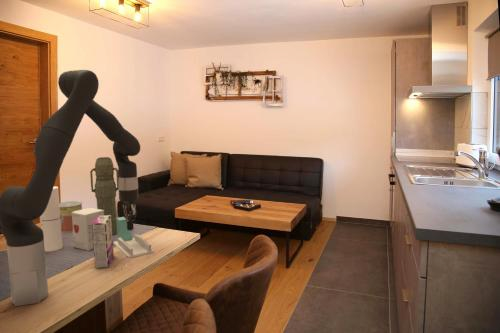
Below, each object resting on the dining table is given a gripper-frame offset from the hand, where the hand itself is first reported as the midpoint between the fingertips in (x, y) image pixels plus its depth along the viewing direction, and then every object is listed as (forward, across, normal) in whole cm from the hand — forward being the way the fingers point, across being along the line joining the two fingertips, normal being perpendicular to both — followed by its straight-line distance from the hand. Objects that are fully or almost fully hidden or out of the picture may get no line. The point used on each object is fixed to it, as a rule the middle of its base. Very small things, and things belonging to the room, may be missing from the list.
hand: (130, 229), depth 149 cm
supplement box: (+8, +12, +13) cm, 19 cm away
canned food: (+8, +43, +15) cm, 46 cm away
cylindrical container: (+8, +18, +26) cm, 32 cm away
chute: (+7, -1, 0) cm, 8 cm away
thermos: (+8, +24, +3) cm, 25 cm away
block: (+6, +9, 0) cm, 11 cm away
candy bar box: (+8, -10, +13) cm, 18 cm away
